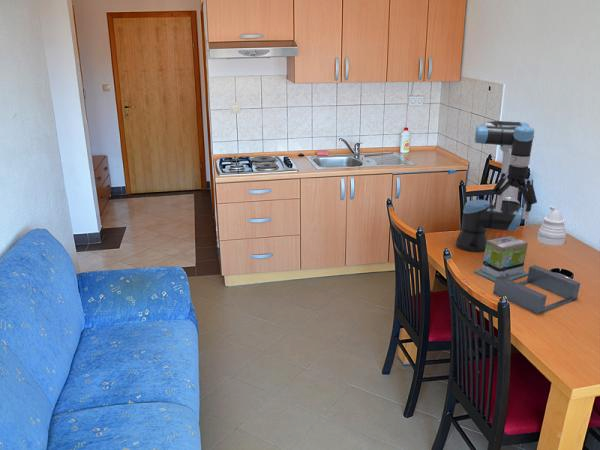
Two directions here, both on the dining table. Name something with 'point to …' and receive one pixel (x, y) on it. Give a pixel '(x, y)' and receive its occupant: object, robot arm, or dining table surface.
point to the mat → (512, 277)
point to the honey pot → (552, 229)
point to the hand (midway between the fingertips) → (511, 213)
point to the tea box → (504, 256)
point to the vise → (533, 298)
